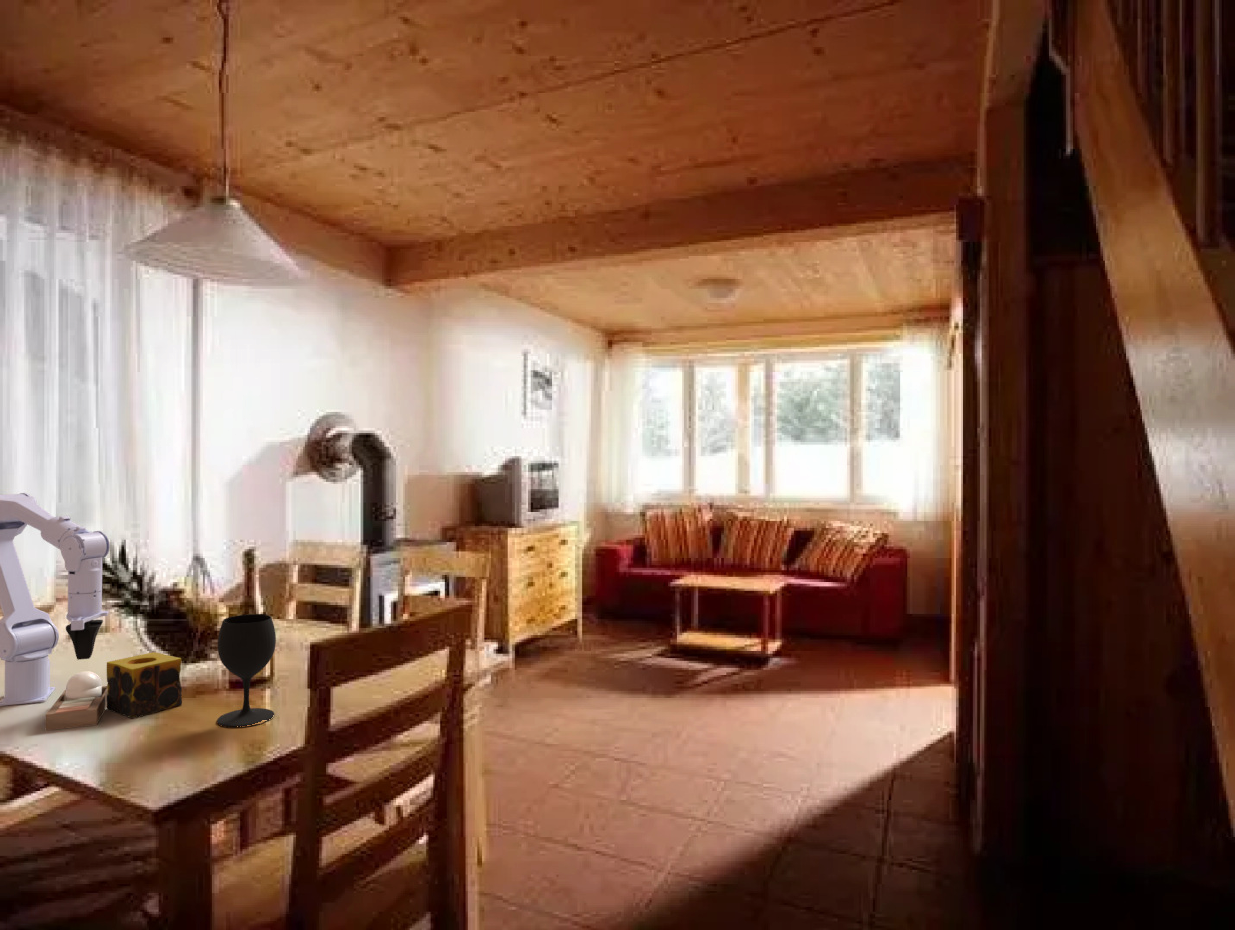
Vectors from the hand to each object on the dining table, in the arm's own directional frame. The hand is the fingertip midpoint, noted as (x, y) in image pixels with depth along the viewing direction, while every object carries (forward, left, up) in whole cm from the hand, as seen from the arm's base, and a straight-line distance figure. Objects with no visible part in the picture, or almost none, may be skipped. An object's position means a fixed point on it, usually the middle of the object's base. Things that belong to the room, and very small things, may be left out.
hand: (84, 658), depth 154 cm
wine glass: (+18, +30, -11) cm, 37 cm away
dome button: (0, 0, -9) cm, 9 cm away
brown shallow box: (+3, 0, -10) cm, 11 cm away
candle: (+3, +11, -11) cm, 16 cm away
